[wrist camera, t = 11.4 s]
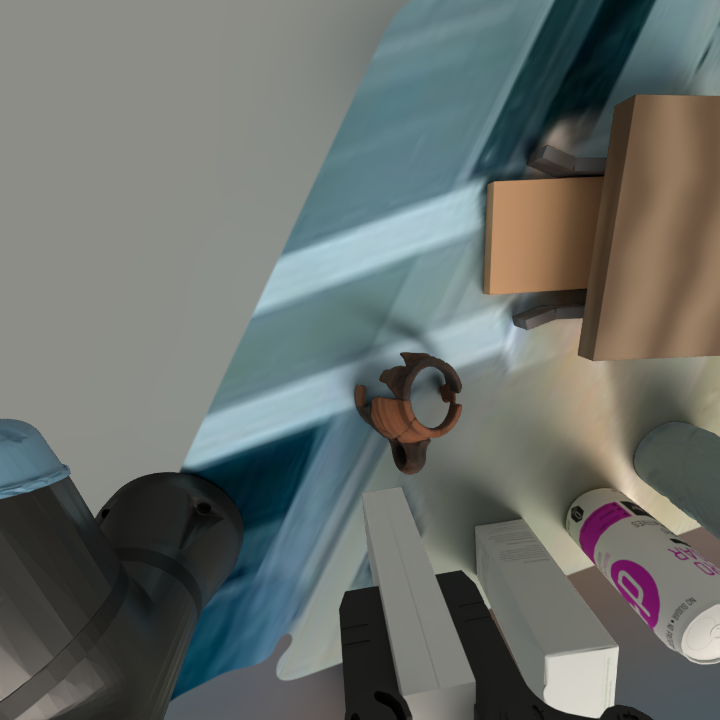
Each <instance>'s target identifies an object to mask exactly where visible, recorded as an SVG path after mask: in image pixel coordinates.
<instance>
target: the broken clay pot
mask: <svg viewBox="0 0 720 720" xmlns="http://www.w3.org/2000/svg"><path fill="white" fill-rule="evenodd" d="M400 355H401V356H402V357H403V359H404V361H405V364H406V366H396V367H394V368H392V369H390V370H385V371H383V373H382V374H381V376H380V378H379V381H381V382H383V383H386V384H387V386H388V388H389V389H390V390H391V391H392V392H393V394H394V396H395V397H396V398H383V397H380V396H377V397H376V398H374V399H373V400H372V406H366V402H365V392H366V387H365V386H356V387H355V403H356V407H357V410H358V412H359V414H360V416H361V417H362V418H363V419H364V420H365V421H366V422H367V423H368V424H370V425H371V426H372V427H373V428H374V429H375V430H376V431H377V432H379V433H380V434H381V435H382V436H383V437H385V438H387V439H388V440H389V442H390V445H391V448H392V454H393V458H394V461H395V464H396V466H397V468H398V469H399V470H400V471H401V472H403V473H405V474H410V475H411V474H414V473H417V472H419V471H420V470H421V469H422V468H423V466H424V464H425V460H426V449H427V446H428V444H429V443H430V442H431V440H430V439H429V438H431V437H432V438H435V437H440V436H442V435H444V434H446V433H447V432H449V431H450V430H451V429H452V428H453V427H454V426H455V424H456V422H457V421H458V419H459V417H460V414H461V410H462V405H460V404H455V400H456V396H455V393H460V392H461V389H462V384H461V382H460V379H459V377H458V375H457V373H456V372H455V370H454V369H453V368H452V367H451V366H450V365H449V364H448V363H445V362H444V361H443V360H441V359H437V358H435V357H433V356H430V355H429V354H426V353H409V352H403V353H400ZM430 366H431V367H435V368H437V369H439V370H440V371H441V372H442V373H443V374H444V377H445V381H446V384H444V385H443V386H442V387H441V388H440V392H441V396H442V400H443V401H444V402H446V403H448V402H450V406H449V411H448V414H447V416H446V418H445V420H444V421H443V422H442V424H440V425H439V426H438V427H435V428H427V427H425V426H423V425H422V424H421V423H420V422H419V421H418V420H417V419H416V417H415V415H414V413H413V411H412V407H411V402H410V391H411V386H412V383H413V381H414V379H415V377H416V375H417V374H418V373H419V372H420V371H421V370H422V369H424V368H426V367H430Z"/></svg>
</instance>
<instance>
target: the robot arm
mask: <svg viewBox="0 0 720 720" xmlns="http://www.w3.org/2000/svg"><path fill="white" fill-rule="evenodd" d="M69 474H70V469H69V467H68V466H67V465H64V464H61V462H60V461H59V459H58V458H57V457H56V455H55V454H54V452H53V451H52V449H51V448H50V447H49V445H48V444H47V442H46V441H45V439H44V438H43V437H42V435H41V434H40V432H39V431H38V430H37V429H36V428H34V427H33V426H32V425H30V424H28V423H26V422H23V421H19V420H13V419H0V720H163V719H164V716H165V713H166V710H167V707H168V704H169V702H170V699H171V696H172V693H173V690H174V688H175V685H176V682H177V679H178V676H179V673H180V670H181V668H182V665H183V662H184V659H185V656H186V653H187V650H188V648H189V645H190V642H191V639H192V636H193V633H194V631H195V628H196V625H197V622H198V619H199V617H200V614H201V611H202V610H203V609H204V607H205V606H206V605H207V603H208V602H209V601H210V600H211V598H212V597H213V596H214V594H215V593H216V592H217V590H218V589H219V588H220V586H221V585H222V584H223V582H224V581H225V580H226V579H227V578H228V576H229V575H230V573H231V572H232V570H233V568H234V566H235V564H236V562H237V559H238V556H239V553H240V550H241V546H242V543H243V537H244V528H243V522H242V518H241V516H240V513H239V511H238V509H237V507H236V506H235V504H234V503H233V501H232V500H231V499H230V498H229V497H228V496H227V495H226V494H225V493H224V492H223V491H222V490H221V489H219V488H218V487H216V486H215V485H213V484H212V483H210V482H208V481H206V480H204V479H201V478H199V477H196V476H192V475H188V474H183V473H175V472H163V473H154V474H149V475H145V476H142V477H139V478H137V479H135V480H133V481H131V482H129V483H127V484H126V485H124V486H123V487H121V488H120V489H119V490H118V491H117V492H116V493H115V494H114V495H113V496H112V497H111V498H110V499H109V501H108V502H107V503H106V504H105V505H104V506H103V507H102V509H101V510H100V511H99V513H98V514H97V516H96V518H94V517H93V515H92V513H91V512H90V510H89V508H88V507H87V505H86V503H85V502H84V500H83V498H82V497H81V495H80V493H79V492H78V490H77V488H76V487H75V485H74V483H73V482H72V480H71V478H70V477H69ZM362 498H363V508H364V518H365V528H366V538H367V549H368V556H369V561H370V567H371V573H372V578H373V584H374V587H369V588H363V589H357V590H352V591H346V592H345V594H344V596H343V599H342V602H341V605H340V608H339V614H340V629H341V644H342V659H343V674H344V688H345V702H346V703H345V704H346V713H345V720H653V719H652V718H651V717H649V716H648V715H646V714H644V713H643V712H641V711H639V710H637V709H635V708H633V707H628V706H623V705H615V706H611V707H608V708H606V710H605V711H604V712H603V714H602V715H601V716H600V719H595V718H590V717H585V716H580V715H575V714H570V713H566V712H563V711H560V710H557V709H555V708H553V707H551V706H549V705H548V704H546V703H545V702H543V701H542V700H541V699H540V698H538V697H537V696H536V695H535V694H534V693H533V692H532V691H531V689H530V688H529V687H528V686H527V684H526V683H525V681H524V680H523V678H522V676H521V675H520V672H519V670H518V668H517V667H516V664H515V662H514V660H513V659H512V657H511V654H510V652H509V650H508V648H507V646H506V644H505V643H504V640H503V638H502V636H501V634H500V632H499V630H498V628H497V626H496V624H495V622H494V620H493V619H492V617H491V614H490V612H489V610H488V608H487V606H486V605H485V604H484V600H483V598H482V596H481V594H480V592H479V590H478V588H477V586H476V584H475V583H474V582H473V581H472V580H471V579H470V578H469V577H468V576H467V575H466V574H465V573H464V572H463V571H462V570H460V571H454V572H448V573H442V574H437V575H435V574H434V571H433V569H432V566H431V563H430V561H429V558H428V556H427V553H426V550H425V548H424V545H423V543H422V540H421V537H420V535H419V532H418V529H417V527H416V524H415V522H414V519H413V516H412V514H411V511H410V509H409V506H408V503H407V501H406V498H405V496H404V493H403V490H402V488H401V487H398V488H391V489H385V490H378V491H371V492H365V493H362Z"/></svg>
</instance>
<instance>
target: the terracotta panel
mask: <svg viewBox="0 0 720 720" xmlns="http://www.w3.org/2000/svg"><path fill="white" fill-rule="evenodd" d="M603 182H604V177H583V178H561V179H539V180H517V181H496V182H492V183H490V184H488V185H487V210H486V237H485V265H484V292H483V294H488V295H495V294H510V293H525V292H540V291H555V290H570V289H585V288H588V282H589V276H590V269H591V262H592V256H593V249H594V242H595V235H596V229H597V222H598V215H599V209H600V202H601V195H602V189H603Z"/></svg>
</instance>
